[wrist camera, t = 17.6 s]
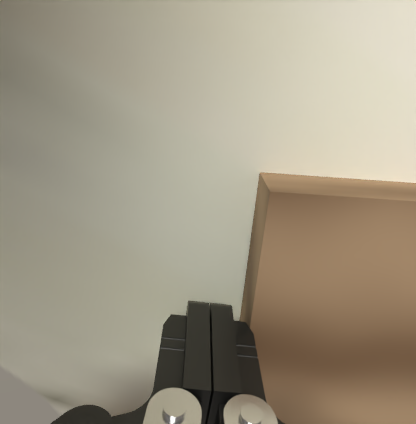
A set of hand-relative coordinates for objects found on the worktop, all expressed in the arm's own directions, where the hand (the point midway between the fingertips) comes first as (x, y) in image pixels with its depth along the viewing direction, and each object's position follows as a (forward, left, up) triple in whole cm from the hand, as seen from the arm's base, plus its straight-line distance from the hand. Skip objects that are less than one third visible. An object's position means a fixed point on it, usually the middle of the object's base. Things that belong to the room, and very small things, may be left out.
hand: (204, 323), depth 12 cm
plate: (-1, +6, -2) cm, 7 cm away
